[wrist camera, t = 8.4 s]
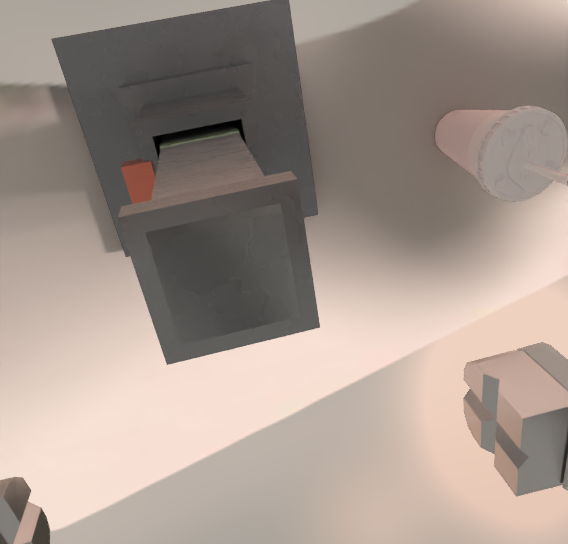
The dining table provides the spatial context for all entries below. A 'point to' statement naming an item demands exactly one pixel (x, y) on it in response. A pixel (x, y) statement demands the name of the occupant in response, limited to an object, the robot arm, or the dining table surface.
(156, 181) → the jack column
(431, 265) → the dining table surface
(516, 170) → the smoothie
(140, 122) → the base
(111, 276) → the dining table surface
